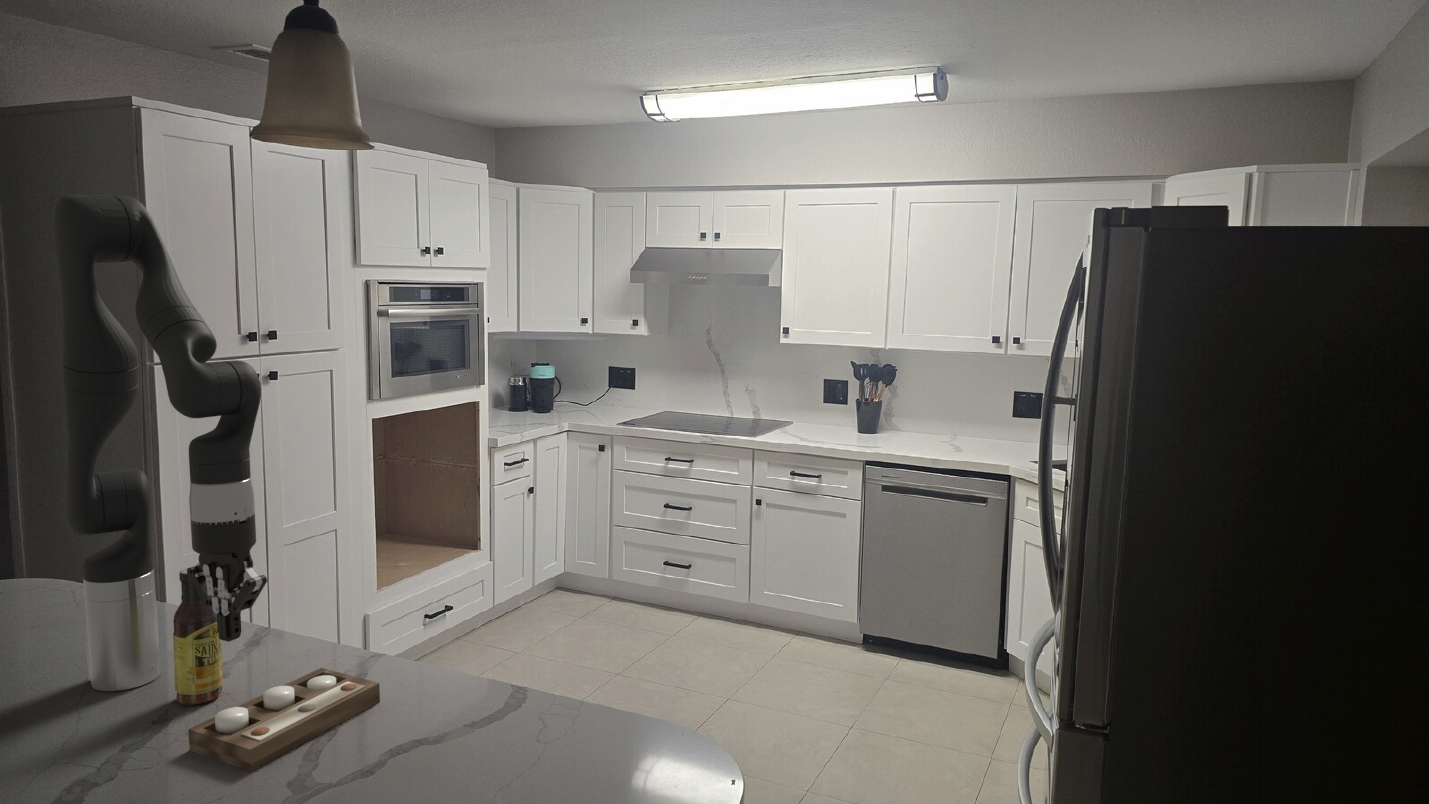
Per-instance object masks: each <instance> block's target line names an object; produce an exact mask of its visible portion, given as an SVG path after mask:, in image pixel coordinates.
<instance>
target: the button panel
mask: <svg viewBox="0 0 1429 804" xmlns="http://www.w3.org/2000/svg"><path fill="white" fill-rule="evenodd" d="M324 675H330V676H334V677H335V678H336V684H335V685H332V686H330V687H328V688H326V689H324V690H322V691H317V690H313V689H310V688H307V682H308V681H309V680H310V679H312V678H314V677H318V676H324ZM282 686H291V687H293V688H294V697H295V704H294V705H292V706H290V707H288V708H285V709H283V710H281V711H276V712H272V711H269V710H266V709H264V701H263V694H262V695H259V696H258V697H255V698H253V699H251V700H249V701H246V702H244V703H241V704H239V705H238V706H236V707H244V708H246V709H248V717H249V726H248V727H247V728H245V729H243V730H241V731H238V732H236V733H234V734H231V735H222V734H219V733H216V729H215V716H214V717H212V718H209V719H207V720H205V721H203V722H200V723H198V724H196V725H194V726H192V727H190V728H188V730H187V731H188V744H189V745H188V747H189V751H190V752H191V751H192V752H194V753H197V754H199V755H203V756H205V757H209V758H211V759H215V760H218V761H221V762H224V763H225V764H228V765H232V766H235V767H237V768H240V769H244V770H247V771H249V772H253V771H256V770H257V769H259V768H260V767H262V766H264V765H266V764H269V762H272V761H273V760H275V759H277V758H279V757H281V756H283V755H285V754H287V753H289V752H290V751H292V750H294V749H295V748H297V747H299V746H301V745H303V744H305V743H306V742H308V741H310V740H312V739H314V738H316V737H318V736H319V735H322V734H323V733H325V732H327V731H329V730H330V729H333V728H334V727H336V726H338V725H340V724H341V723H343V722H346V721H348V720H349V719H351V718H353V717H355V716H357V715H358V714H360V713H362V712H364V711H365V710H369V708H371V707H374V706H375V705H377V704H379V703H380V702H381V695H380V694H381V692H380V683H379V682H377V681H374V680H370V679H365V678H362V677H358V676H353V675H350V674H346V673H344V672H339V671H335V670H331V669H328V668H324V667H320V668H317V669H316V670H314V671H311V672H309V673H306V674H304V675H302V676H300V677H298V678H295V679H293V680H292V681H290V682H288V683H285V684H283V685H282Z"/></svg>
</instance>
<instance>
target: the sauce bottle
mask: <svg viewBox="0 0 1429 804" xmlns="http://www.w3.org/2000/svg"><path fill="white" fill-rule="evenodd" d="M188 568H189V567H186V568H183V569H181V570H180V571H179V575H178V576H179V581H180V583H181V585H180V587H181V588H180V589H181V597H180V598H181V602H180V604H179V606H178V607H177V610H176V611H175V613H174V614H173V615H174V616H173V634H172V637H173V638H172V640H173V658H174V659H173V662H174V664H173V665H174V666H173V667H174V691H175V692H176V701H177V703H179V704H180V705H186V706H195V705H200V704H201V705H202V704H206V703H209V702H212V701H214V700H216V699H217V698H219V696H220V695H221V694H222V691H223V684H224V683H223V682H224V681H223V657H222V656H223V655H222V654H223V651H222V640H220V639H219V634H218V630H217V614H216V613H214V611H213V608H212V607H211V606H208V607H206V606H205V605H204V603H203V602H202V600H201V598H200V596H199V594H198V592H197V591H196V589H195V587H194V585H193V583H192V581H191V580H190V578H189V576H188V574H187V569H188Z"/></svg>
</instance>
